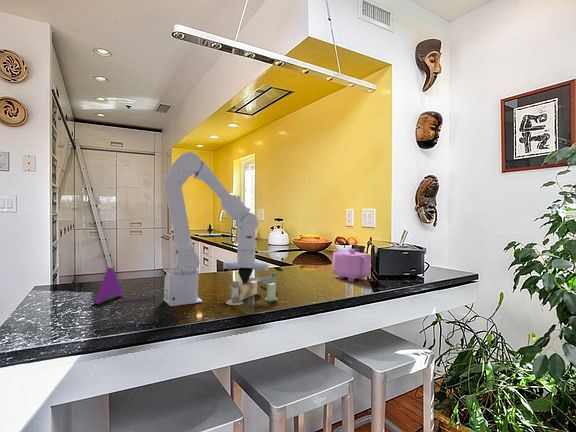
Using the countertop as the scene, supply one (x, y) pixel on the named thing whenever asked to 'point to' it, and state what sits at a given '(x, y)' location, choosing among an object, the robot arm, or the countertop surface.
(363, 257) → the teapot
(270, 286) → the latch post
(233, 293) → the hinge post
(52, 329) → the countertop surface
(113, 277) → the arrowhead
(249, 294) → the gate
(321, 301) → the countertop surface
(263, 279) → the caliper
